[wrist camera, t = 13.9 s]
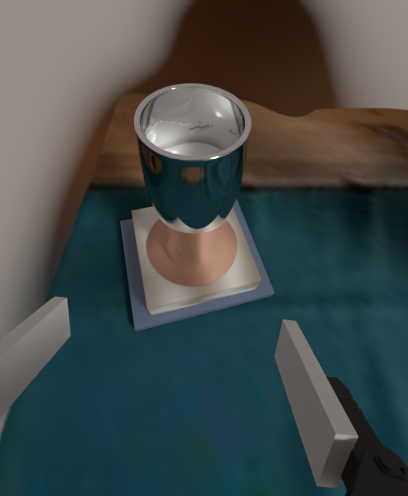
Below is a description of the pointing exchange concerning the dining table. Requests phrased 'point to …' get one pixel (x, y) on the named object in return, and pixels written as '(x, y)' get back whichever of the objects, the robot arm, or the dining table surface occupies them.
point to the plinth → (191, 279)
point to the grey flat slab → (147, 320)
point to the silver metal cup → (192, 164)
